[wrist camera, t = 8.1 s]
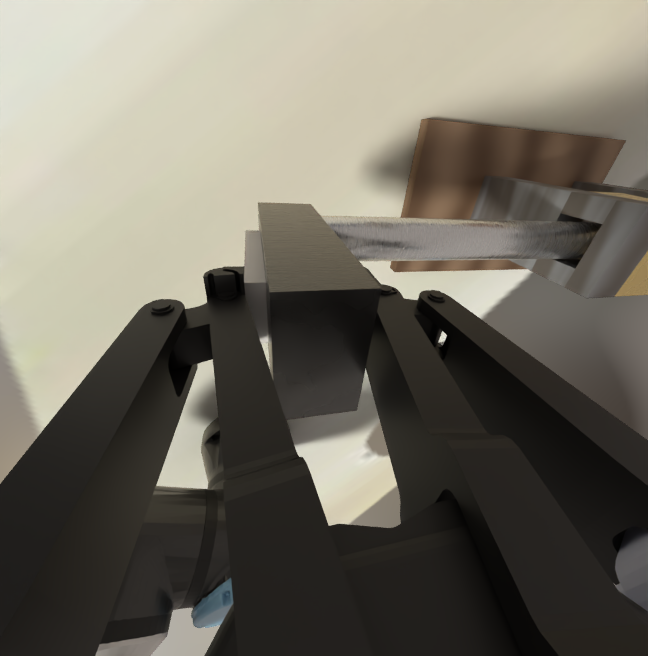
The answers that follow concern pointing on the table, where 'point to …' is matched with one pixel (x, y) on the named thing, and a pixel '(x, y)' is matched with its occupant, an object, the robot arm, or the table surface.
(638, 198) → the block
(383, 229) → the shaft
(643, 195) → the shaft stand
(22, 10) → the table surface
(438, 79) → the table surface
